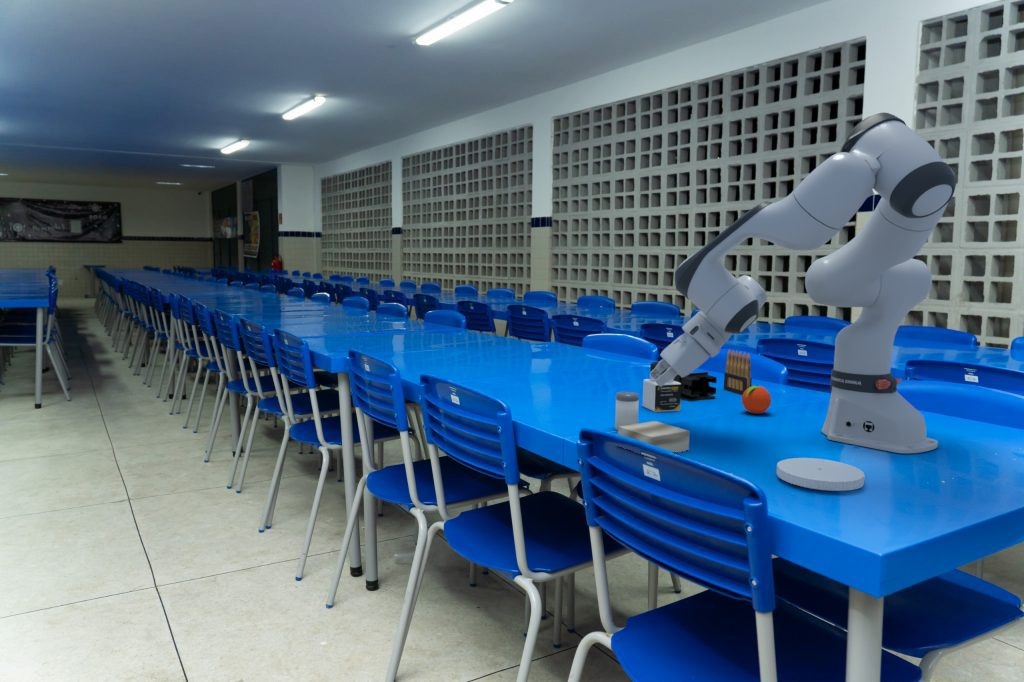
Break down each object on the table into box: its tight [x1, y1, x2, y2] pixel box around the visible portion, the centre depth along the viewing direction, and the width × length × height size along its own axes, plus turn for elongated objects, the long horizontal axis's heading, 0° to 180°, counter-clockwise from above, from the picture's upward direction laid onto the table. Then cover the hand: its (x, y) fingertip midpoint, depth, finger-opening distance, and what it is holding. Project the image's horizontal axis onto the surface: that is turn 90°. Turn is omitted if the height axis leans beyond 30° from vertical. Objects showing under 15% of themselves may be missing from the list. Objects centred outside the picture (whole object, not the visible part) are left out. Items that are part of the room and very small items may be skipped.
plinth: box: [617, 420, 690, 454], centre depth 147 cm, size 10×10×4 cm
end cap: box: [673, 371, 718, 402], centre depth 198 cm, size 10×7×7 cm
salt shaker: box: [614, 391, 640, 431], centre depth 162 cm, size 5×5×8 cm
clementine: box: [741, 384, 772, 415], centre depth 179 cm, size 8×7×7 cm
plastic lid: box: [776, 457, 866, 492], centre depth 126 cm, size 14×14×2 cm
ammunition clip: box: [723, 348, 753, 396], centre depth 206 cm, size 11×2×12 cm, turn 18°
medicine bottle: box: [642, 360, 682, 413], centre depth 184 cm, size 7×7×12 cm
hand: (654, 380), depth 160 cm, fingers open, 8 cm apart
